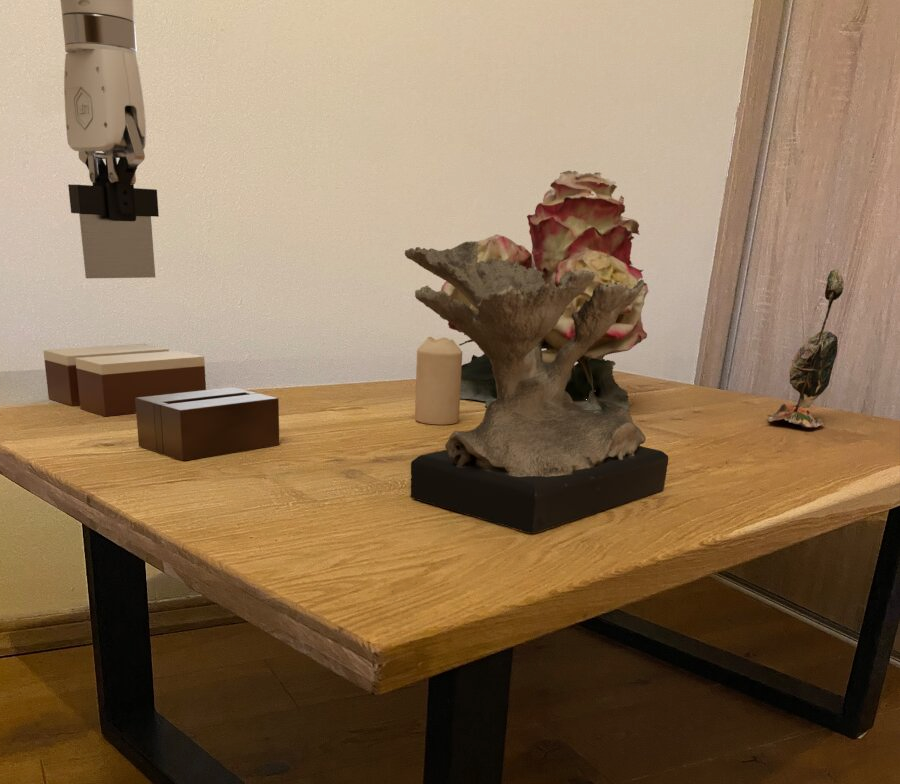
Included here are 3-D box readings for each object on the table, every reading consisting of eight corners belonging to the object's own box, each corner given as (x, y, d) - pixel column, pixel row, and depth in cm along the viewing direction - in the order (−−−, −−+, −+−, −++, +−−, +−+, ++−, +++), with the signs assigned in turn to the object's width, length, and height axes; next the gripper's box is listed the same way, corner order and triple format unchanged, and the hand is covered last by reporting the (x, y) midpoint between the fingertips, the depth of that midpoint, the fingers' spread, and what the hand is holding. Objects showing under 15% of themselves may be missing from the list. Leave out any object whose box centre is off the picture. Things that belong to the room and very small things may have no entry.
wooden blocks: (105, 416, 108) (100, 364, 106) (48, 399, 116) (42, 350, 114) (206, 404, 118) (204, 356, 116) (147, 388, 126) (144, 343, 124)
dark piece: (87, 279, 107) (77, 184, 103) (77, 277, 109) (67, 184, 105) (163, 278, 114) (157, 189, 110) (153, 276, 116) (147, 189, 112)
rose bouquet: (414, 394, 132) (422, 163, 121) (564, 383, 149) (583, 178, 138) (532, 429, 114) (555, 159, 102) (688, 412, 130) (723, 178, 119)
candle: (407, 421, 114) (410, 337, 110) (425, 414, 119) (428, 334, 115) (448, 427, 112) (452, 342, 109) (465, 419, 117) (469, 338, 113)
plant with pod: (842, 423, 127) (875, 270, 120) (808, 433, 120) (840, 269, 112) (786, 414, 132) (814, 265, 125) (750, 422, 125) (777, 265, 117)
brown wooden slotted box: (183, 461, 91) (180, 410, 89) (138, 446, 96) (134, 397, 94) (279, 445, 99) (278, 398, 97) (234, 432, 104) (232, 387, 102)
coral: (503, 545, 72) (525, 249, 64) (333, 488, 84) (333, 235, 76) (671, 492, 89) (705, 254, 81) (508, 451, 101) (524, 242, 93)
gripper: (32, 40, 104) (52, 217, 111) (107, 27, 94) (123, 222, 101) (95, 50, 109) (109, 219, 116) (171, 39, 100) (182, 224, 107)
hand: (116, 219), depth 109 cm, fingers closed on dark piece, 2 cm apart
